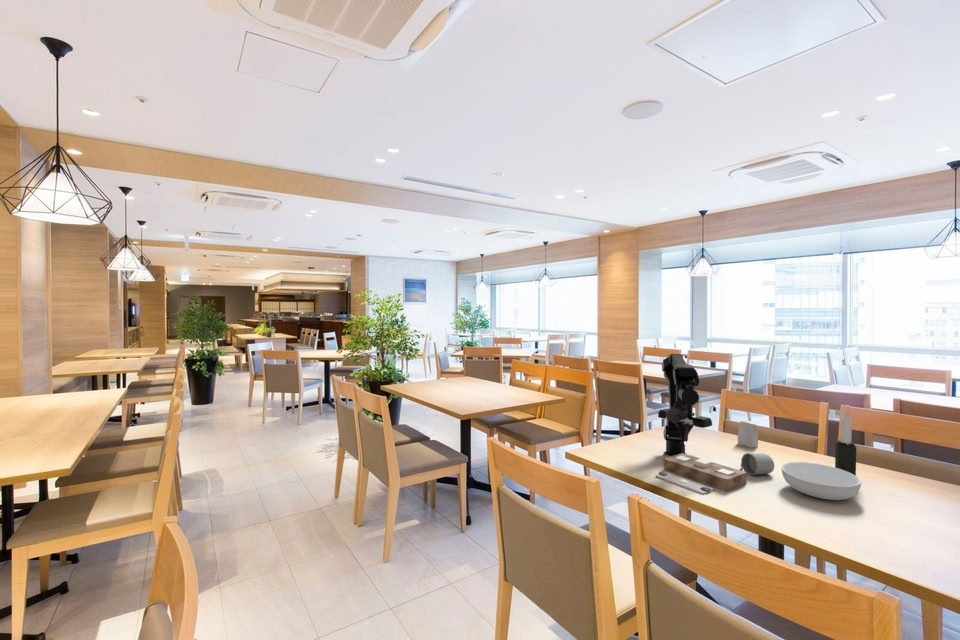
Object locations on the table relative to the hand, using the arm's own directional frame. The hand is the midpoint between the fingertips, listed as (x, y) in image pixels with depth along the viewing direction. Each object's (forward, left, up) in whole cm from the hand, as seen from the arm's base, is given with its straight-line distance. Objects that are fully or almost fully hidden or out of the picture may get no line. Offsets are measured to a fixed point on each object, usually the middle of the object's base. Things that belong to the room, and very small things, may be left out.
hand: (683, 440), depth 168 cm
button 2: (+16, 0, -10) cm, 19 cm away
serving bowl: (+37, +18, -11) cm, 42 cm away
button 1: (0, 0, -10) cm, 10 cm away
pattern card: (+8, -12, -11) cm, 18 cm away
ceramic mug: (+16, +19, -11) cm, 28 cm away
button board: (+8, 0, -11) cm, 14 cm away
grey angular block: (-2, +51, -11) cm, 52 cm away
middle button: (+8, 0, -9) cm, 12 cm away
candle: (+37, +39, -11) cm, 55 cm away
